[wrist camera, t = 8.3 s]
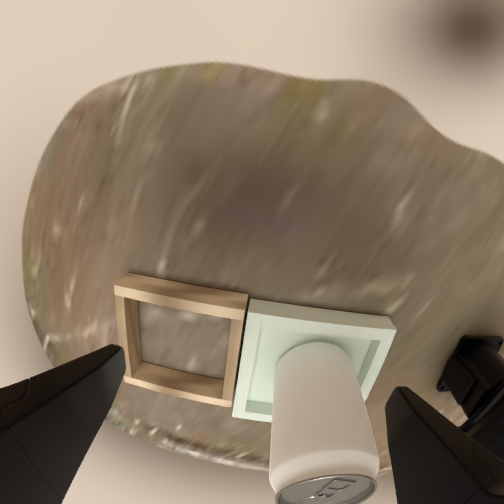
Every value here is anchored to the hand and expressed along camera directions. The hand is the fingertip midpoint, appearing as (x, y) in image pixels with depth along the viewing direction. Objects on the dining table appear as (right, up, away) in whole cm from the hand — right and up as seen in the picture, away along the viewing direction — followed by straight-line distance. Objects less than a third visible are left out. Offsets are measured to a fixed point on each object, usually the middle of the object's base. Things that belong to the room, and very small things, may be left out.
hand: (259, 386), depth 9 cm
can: (+5, -5, +14) cm, 16 cm away
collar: (-6, -3, +15) cm, 16 cm away
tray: (+4, -5, +15) cm, 16 cm away
